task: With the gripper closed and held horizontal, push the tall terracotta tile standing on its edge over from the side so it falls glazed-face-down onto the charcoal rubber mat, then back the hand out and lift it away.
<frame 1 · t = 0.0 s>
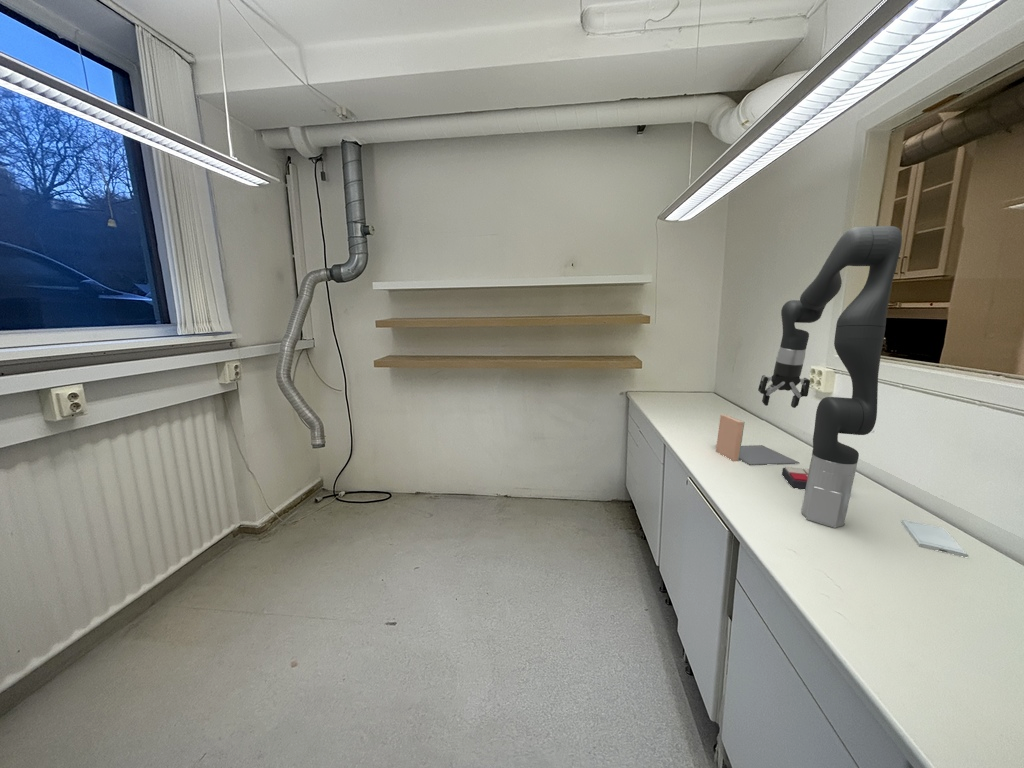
hand: (779, 405, 134), 22 cm above the worktop, tool pointing down, fingers open, 8 cm apart
hard drive: (931, 541, 96), on the worktop
mat: (756, 455, 149), on the worktop
tile: (727, 456, 147), on the worktop
calculator: (813, 486, 125), on the worktop
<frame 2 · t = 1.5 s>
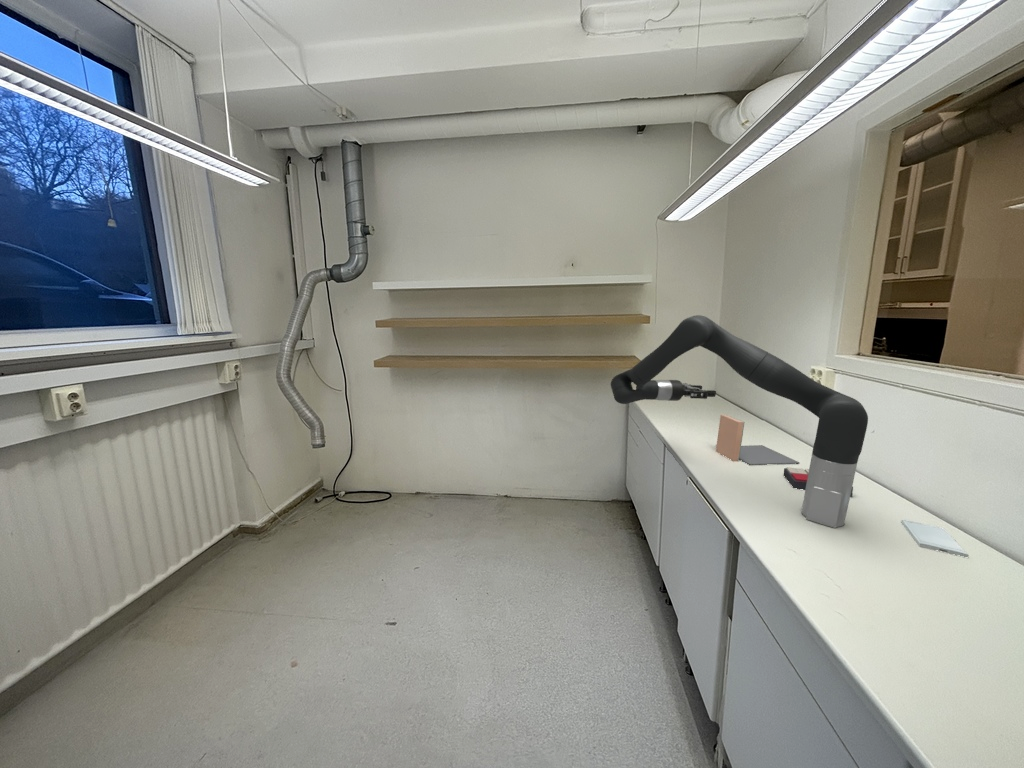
hand: (708, 390, 141), 25 cm above the worktop, tool horizontal, fingers open, 8 cm apart
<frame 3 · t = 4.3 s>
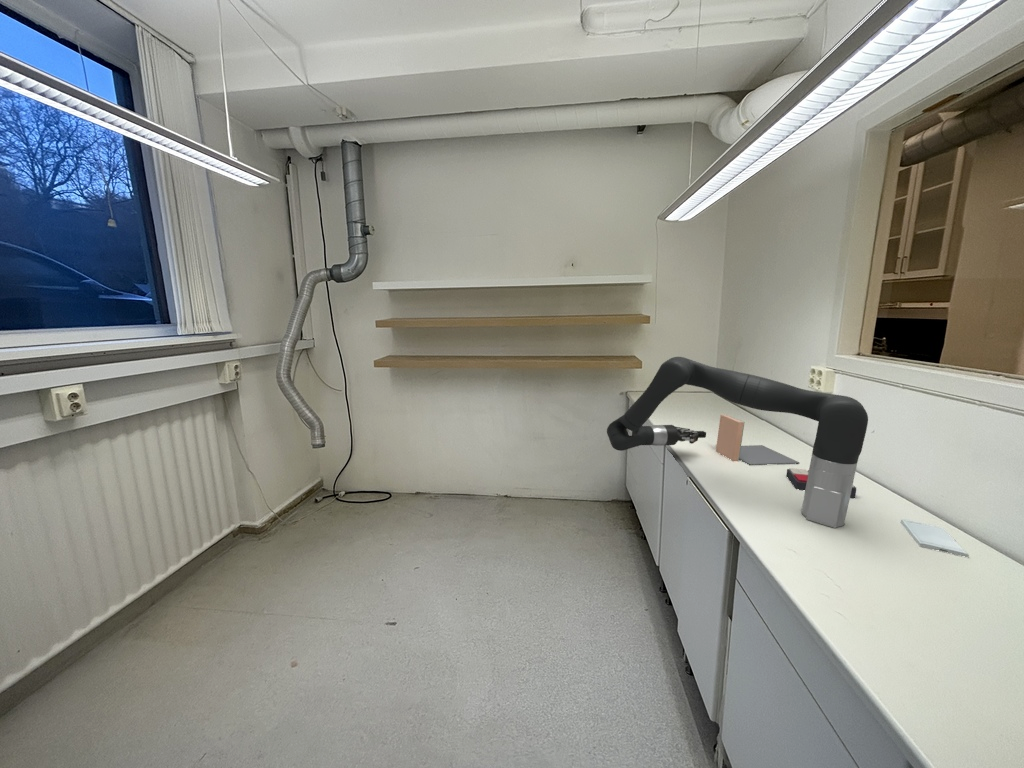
hand: (704, 434, 144), 9 cm above the worktop, tool horizontal, fingers closed
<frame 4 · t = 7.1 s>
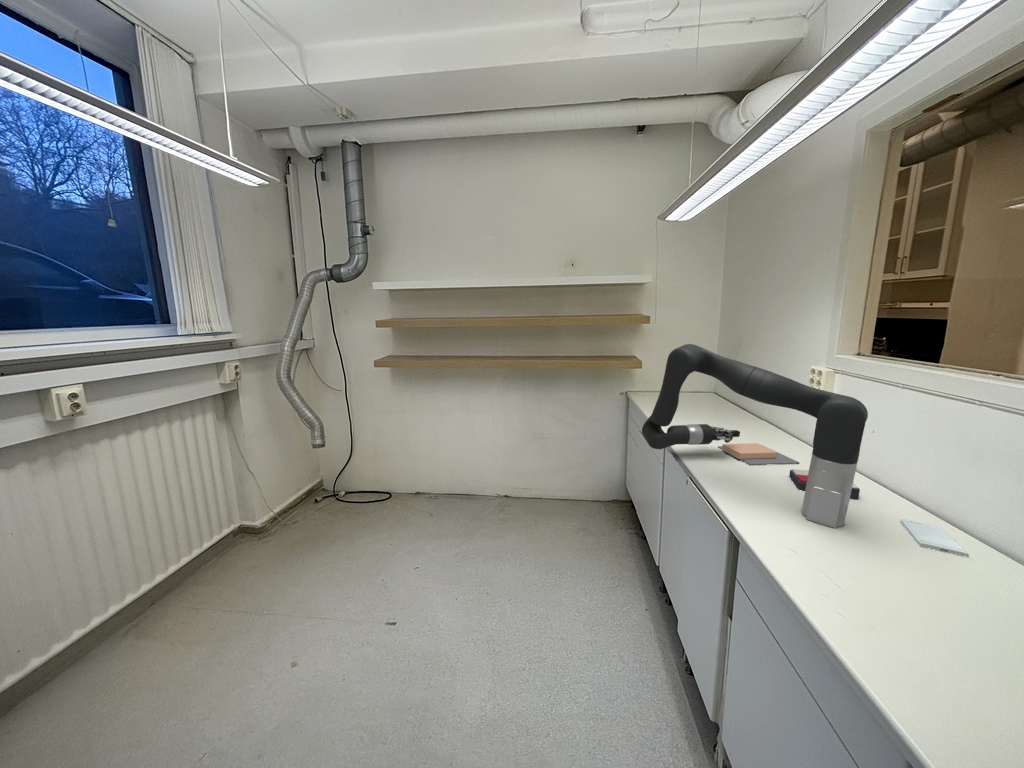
hand: (738, 433, 146), 9 cm above the worktop, tool horizontal, fingers closed
tile: (730, 451, 147), point 2 cm above the worktop, tilted 90°, touching mat
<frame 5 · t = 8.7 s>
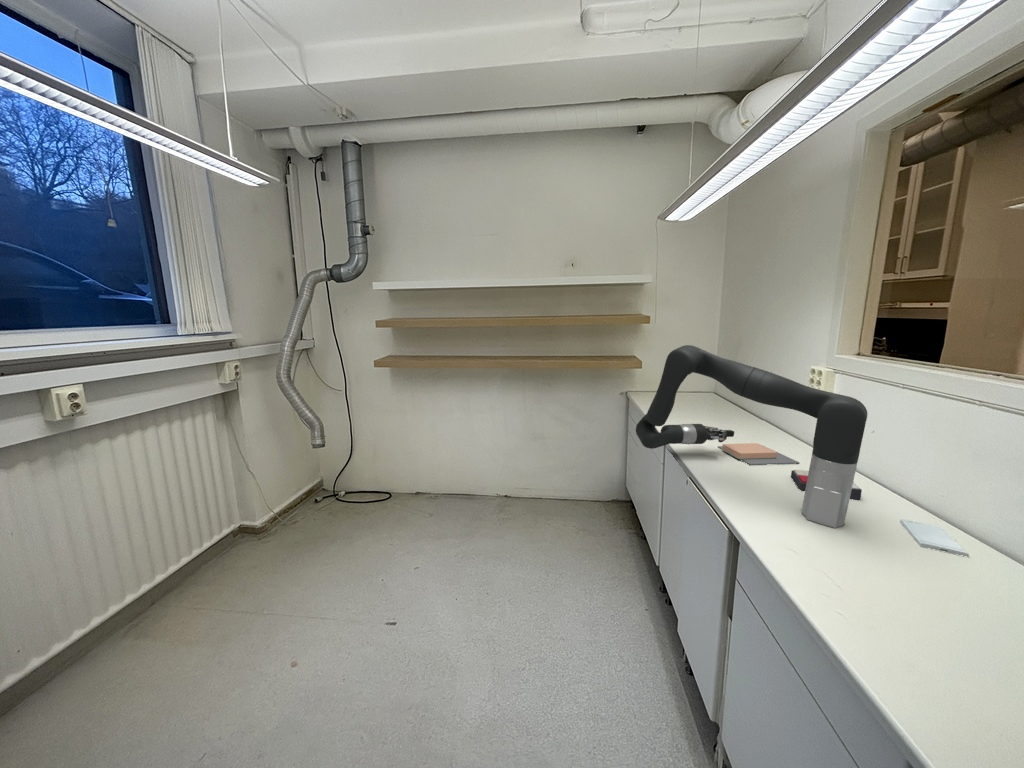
hand: (732, 433, 146), 9 cm above the worktop, tool horizontal, fingers closed
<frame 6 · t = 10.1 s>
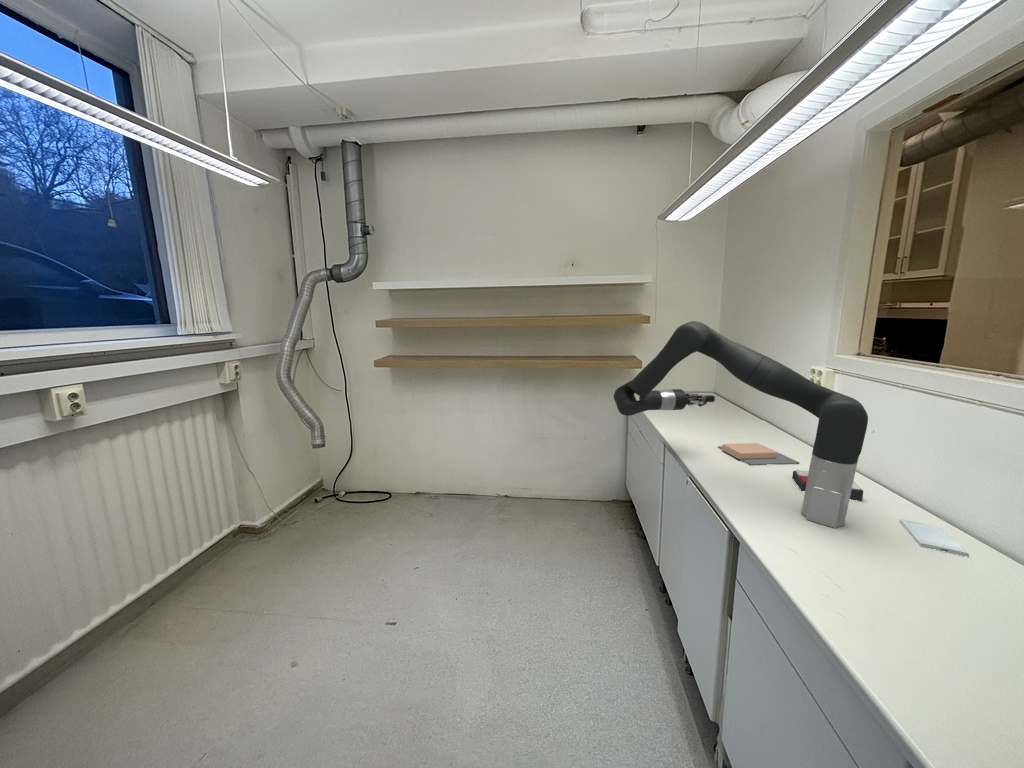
hand: (713, 398, 142), 23 cm above the worktop, tool horizontal, fingers closed
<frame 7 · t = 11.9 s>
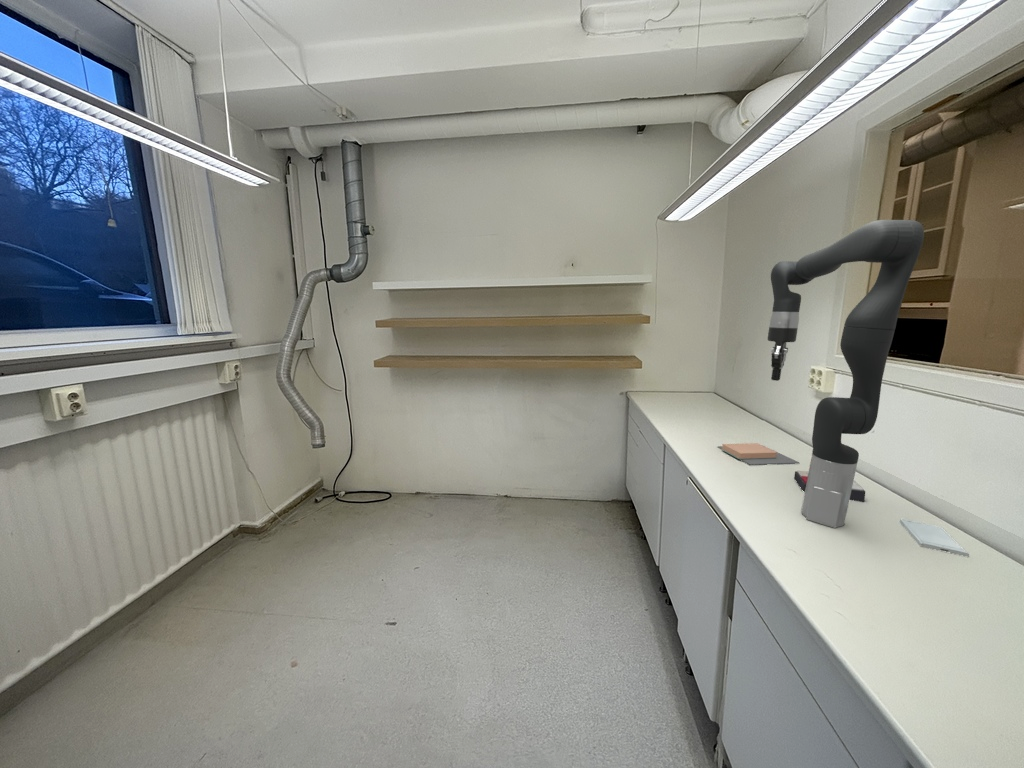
hand: (775, 380, 126), 33 cm above the worktop, tool pointing down, fingers closed
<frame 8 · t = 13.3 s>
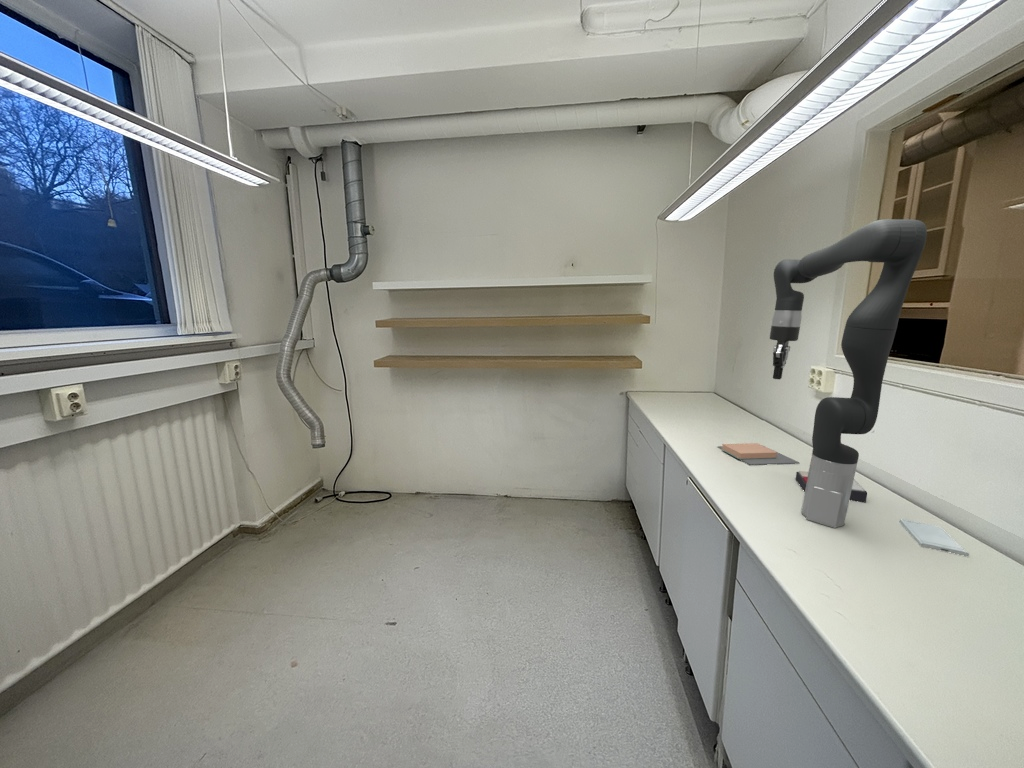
hand: (777, 378, 126), 33 cm above the worktop, tool pointing down, fingers closed
at the end: tile tilted 90°; tile touching mat; tile inside the target area (0.2 cm from its centre), point 1.7 cm above the worktop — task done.
